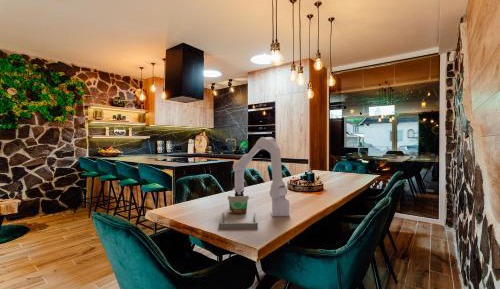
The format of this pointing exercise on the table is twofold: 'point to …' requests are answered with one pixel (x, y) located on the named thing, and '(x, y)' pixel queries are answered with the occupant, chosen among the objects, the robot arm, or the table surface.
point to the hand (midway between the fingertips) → (239, 203)
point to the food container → (238, 204)
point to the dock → (238, 224)
